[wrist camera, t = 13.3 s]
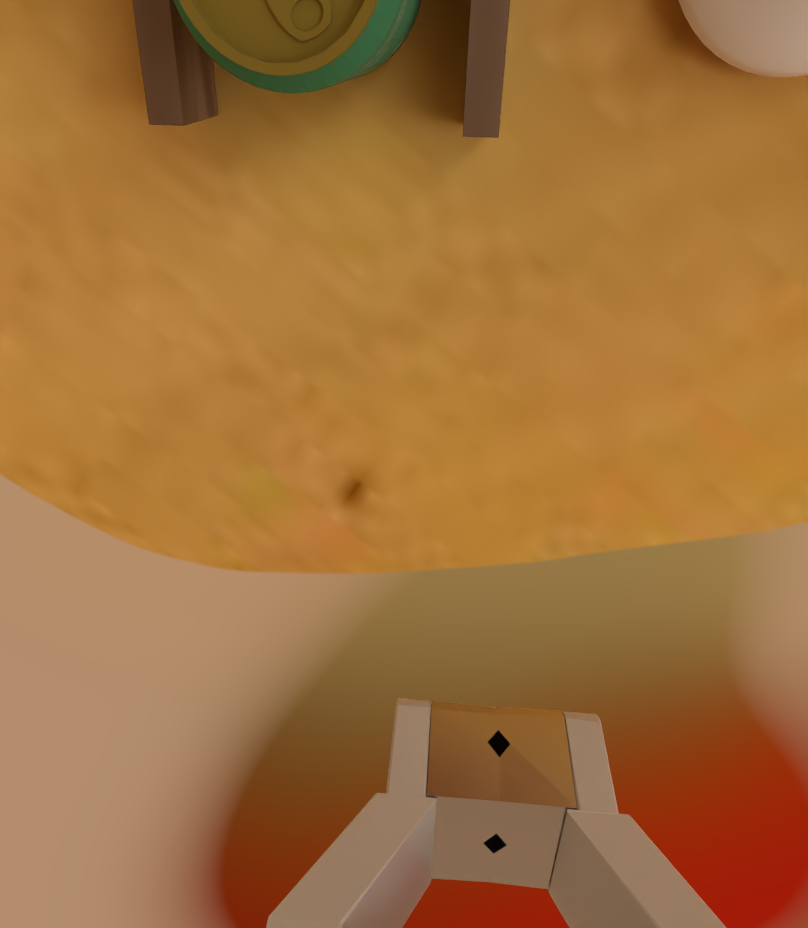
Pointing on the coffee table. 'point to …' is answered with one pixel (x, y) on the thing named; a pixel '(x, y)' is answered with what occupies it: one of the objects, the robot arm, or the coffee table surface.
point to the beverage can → (298, 38)
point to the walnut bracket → (193, 85)
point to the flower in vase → (754, 33)
